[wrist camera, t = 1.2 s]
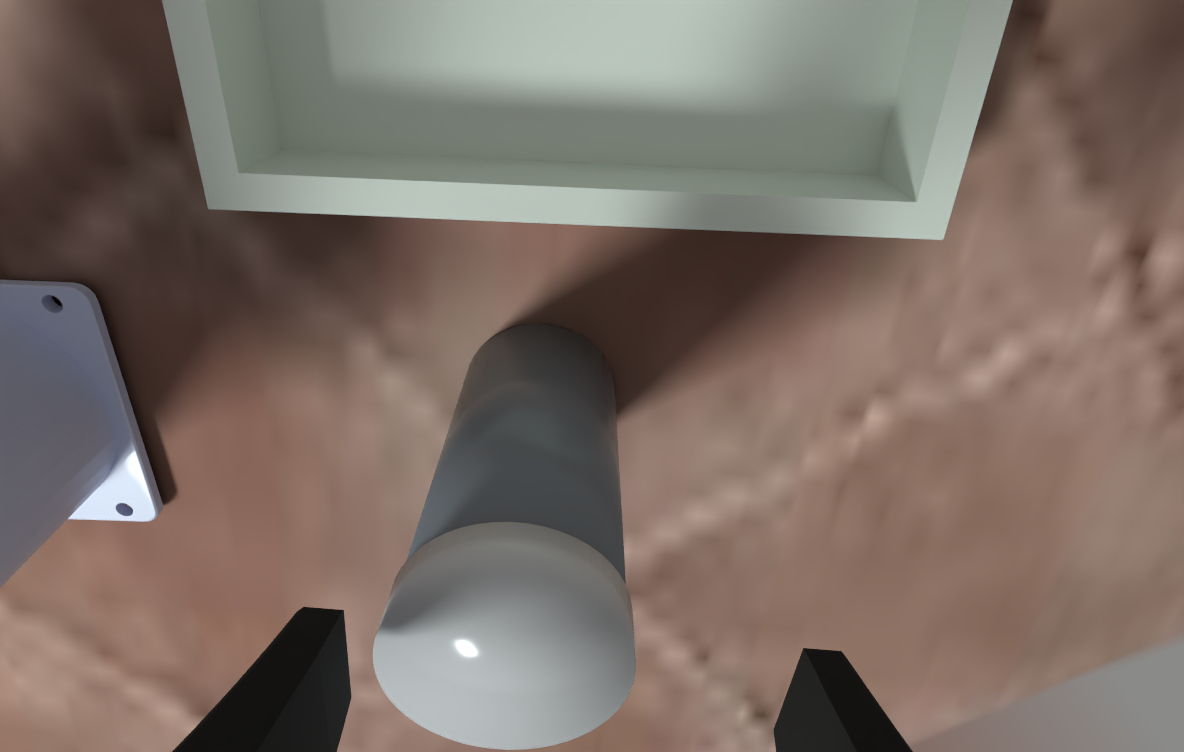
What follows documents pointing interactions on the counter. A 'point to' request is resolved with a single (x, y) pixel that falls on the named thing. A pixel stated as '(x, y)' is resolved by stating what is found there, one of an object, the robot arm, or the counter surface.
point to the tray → (591, 109)
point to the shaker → (517, 556)
